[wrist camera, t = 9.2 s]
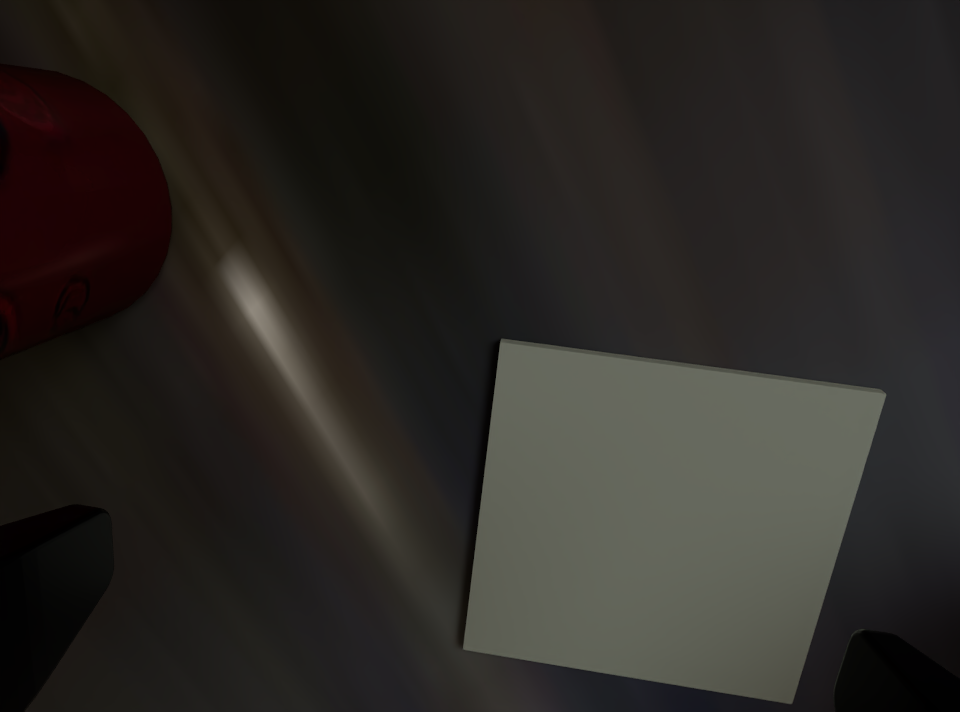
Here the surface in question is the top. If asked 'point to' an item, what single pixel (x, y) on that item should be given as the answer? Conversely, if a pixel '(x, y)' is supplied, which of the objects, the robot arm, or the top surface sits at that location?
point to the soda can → (73, 208)
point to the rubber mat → (662, 516)
